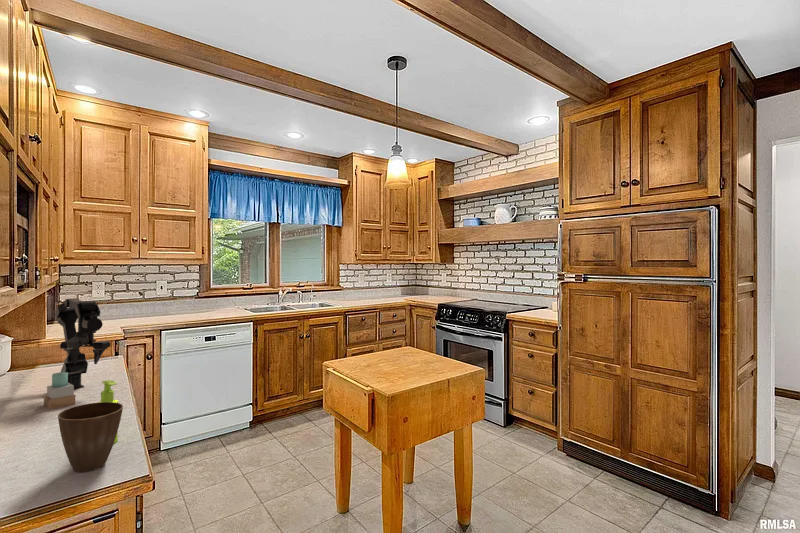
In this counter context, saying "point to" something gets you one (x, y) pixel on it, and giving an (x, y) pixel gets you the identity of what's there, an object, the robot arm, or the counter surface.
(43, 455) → the counter surface
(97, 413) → the plant pot
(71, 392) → the light grey block
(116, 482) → the counter surface
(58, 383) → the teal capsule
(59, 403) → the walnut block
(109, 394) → the soap dispenser
